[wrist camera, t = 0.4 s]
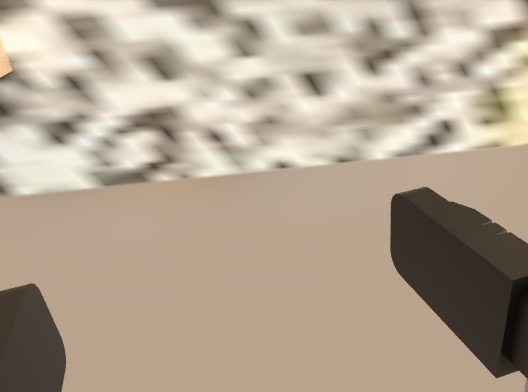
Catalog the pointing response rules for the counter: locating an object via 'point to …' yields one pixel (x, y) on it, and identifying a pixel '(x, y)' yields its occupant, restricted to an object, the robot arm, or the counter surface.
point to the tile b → (4, 61)
